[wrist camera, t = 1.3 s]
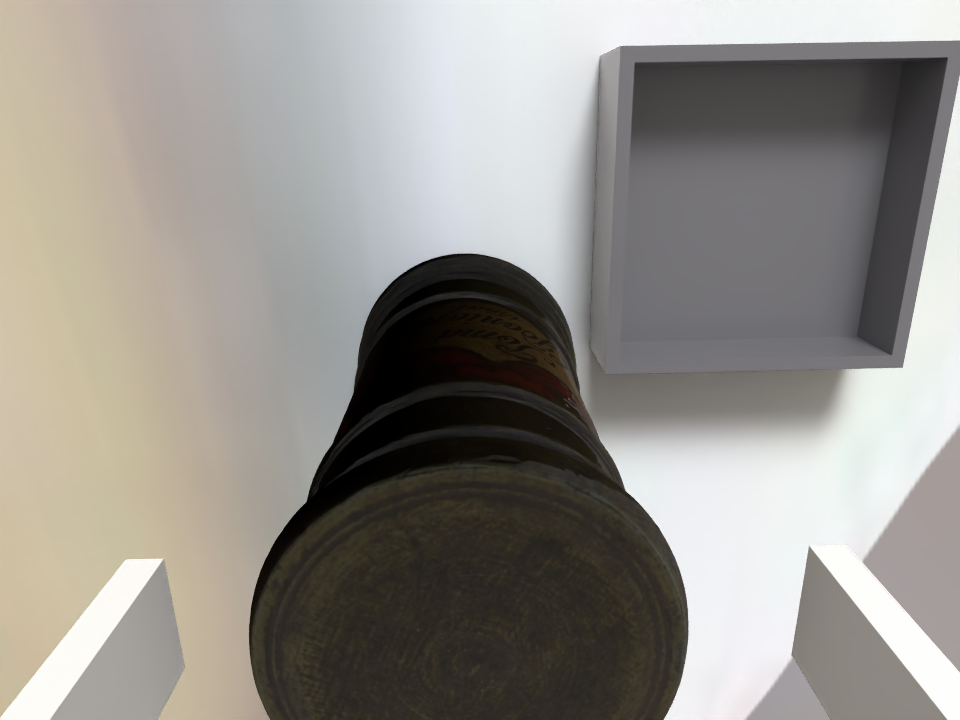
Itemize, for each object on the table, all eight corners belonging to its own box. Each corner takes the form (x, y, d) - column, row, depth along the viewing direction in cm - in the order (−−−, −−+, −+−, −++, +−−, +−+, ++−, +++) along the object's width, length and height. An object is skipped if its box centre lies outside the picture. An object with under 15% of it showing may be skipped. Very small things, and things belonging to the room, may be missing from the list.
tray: (589, 346, 30) (605, 374, 26) (600, 55, 26) (620, 46, 23) (853, 340, 30) (902, 367, 27) (902, 50, 26) (966, 40, 23)
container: (563, 451, 31) (681, 842, 14) (364, 445, 31) (243, 838, 14) (580, 255, 28) (756, 453, 11) (362, 246, 28) (206, 436, 11)
